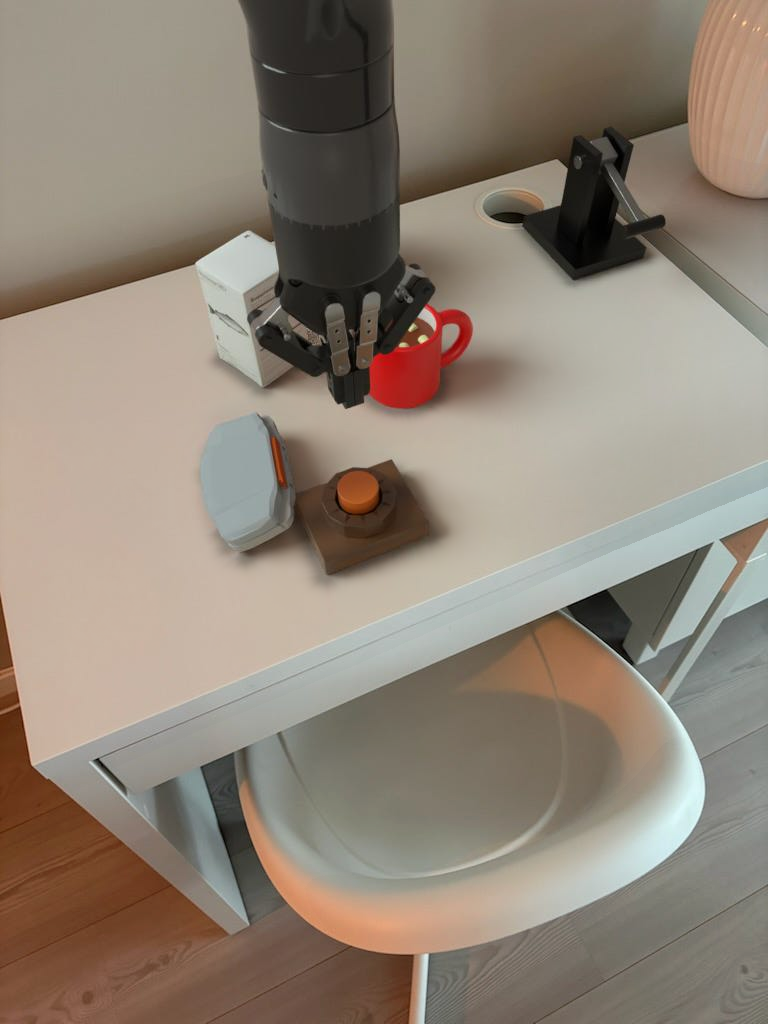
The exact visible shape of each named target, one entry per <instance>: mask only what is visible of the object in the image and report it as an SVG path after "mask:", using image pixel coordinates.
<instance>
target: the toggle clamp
mask: <svg viewBox="0 0 768 1024" xmlns="http://www.w3.org/2000/svg"><path fill="white" fill-rule="evenodd" d="M603 137H607V138H608V139H609V141H610V143H611V144H612V146H613V148H614V149H615V151H616V153H617V154H618V157H617V159H616V161H615V162H614V164H613V165H614V166H615V168H616V170H617V171H618V173H619V175H620V176H621V178H622V180H623V181H624V183H625V181H626V177H627V173H628V171H629V170H628V169H629V166H630V162H631V158H632V154H633V150H634V146H635V145H634V143H632V142H631V141H630V140H629V139H628V138H627V137H625V136H624V135H623V134H621V133H620V132H619V131H618V130H616V129H615V128H614V127H613V126H608V127H604V128H603V132H602V137H601V138H603ZM602 155H603V153H602V152H601V151H599V150H598V149H597V148H596V147H595V146H594V145H592V144H591V143H590V141H589V140H588V139H587V138H586V137H584V135H582V134H578V135H575V136H573V138H572V143H571V149H570V155H569V160H568V165H567V171H566V176H565V180H564V187H563V192H562V197H561V202H560V205H557V206H552V207H550V208H545V209H543V210H539V211H536V212H532V213H529V214H525V215H523V218H522V224H521V227H522V228H523V230H525V231H526V232H527V234H529V236H530V237H531V238H532V239H533V240H534V241H535V242H536V243H537V244H538V245H539V246H540V247H541V248H542V249H543V250H544V251H545V252H546V253H547V254H548V256H549V257H550V258H551V259H552V260H553V261H554V262H555V263H556V264H557V265H558V266H559V267H560V269H561V270H563V271H564V272H565V273H566V275H567V276H568V277H569V278H570V279H571V280H572V281H575V280H578V279H581V278H585V277H588V276H591V275H594V274H597V273H600V272H603V271H606V270H610V269H613V268H615V267H619V266H623V265H625V264H628V263H632V262H635V261H637V260H642V259H644V257H645V254H646V251H647V246H646V245H645V244H644V243H643V242H642V241H641V240H639V238H637V236H635V237H631V238H628V239H625V240H623V239H622V238H621V237H620V234H619V229H620V227H621V226H624V225H623V224H622V223H621V221H619V220H618V219H617V218H616V217H617V213H618V209H619V205H620V202H619V201H618V199H617V197H616V196H615V194H614V192H613V191H612V189H611V187H610V186H609V184H608V182H607V181H606V179H605V177H604V176H603V174H598V173H599V169H600V164H601V160H602Z"/></svg>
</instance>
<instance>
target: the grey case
mask: <svg viewBox="0 0 768 1024" xmlns="http://www.w3.org/2000/svg"><path fill="white" fill-rule="evenodd" d="M199 470H200V471H199V476H200V486H201V492H202V498H203V503H204V506H205V509H206V512H207V514H208V516H209V517H210V520H212V521H213V522H214V523H215V526H216V527H217V530H218V533H219V536H221V538H222V539H223V540H224V541H225V542H226V543H227V545H228V546H229V548H231V550H234V551H235V552H238V553H239V552H241V553H243V552H246V551H249V550H251V549H254V548H255V547H257V546H259V545H261V544H263V543H265V542H267V541H269V540H271V539H273V538H274V537H276V536H278V535H280V534H281V533H284V532H286V531H287V530H289V529H290V528H291V526H292V524H293V522H294V521H295V505H294V504H295V498H296V495H295V494H296V490H295V485H294V480H293V476H292V471H291V465H290V460H289V454H288V450H287V446H286V442H285V440H284V439H283V437H282V436H281V435H280V433H279V430H278V426H277V425H276V422H275V421H274V420H273V419H272V417H271V416H270V415H268V414H263V415H262V416H261V415H260V414H259V413H258V412H257V411H254V412H251V413H250V414H247V415H244V416H241V417H238V418H234V419H231V420H228V421H225V422H221V423H218V424H216V425H215V426H214V427H213V428H212V429H211V431H210V432H209V434H208V436H207V441H206V445H205V448H204V450H203V452H202V453H201V454H200V463H199Z"/></svg>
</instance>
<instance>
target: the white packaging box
mask: <svg viewBox="0 0 768 1024" xmlns="http://www.w3.org/2000/svg"><path fill="white" fill-rule="evenodd" d="M194 265H195V268H196V272H197V274H198V280H199V284H200V286H201V291H202V294H203V299H204V302H205V306H206V309H207V314H208V316H209V321H210V325H211V330H212V333H213V337H214V341H215V345H216V348H217V352H218V355H219V358H220V359H221V360H223V361H224V362H226V363H227V364H229V365H231V366H232V367H234V368H235V369H237V370H238V371H240V372H241V373H242V374H244V375H245V376H246V377H248V378H249V379H251V381H253V382H255V383H256V384H257V385H258V386H260V387H261V388H262V389H263V388H266V387H267V386H269V385H270V384H272V383H273V382H274V381H275V380H278V379H279V378H280V377H281V376H282V375H284V374H286V373H287V372H288V371H289V370H290V369H293V368H294V366H293V365H291V364H290V363H288V362H286V361H285V360H283V359H281V358H279V357H278V356H276V355H274V354H273V353H271V352H269V351H268V350H266V349H264V348H263V347H261V346H260V345H259V343H258V341H257V339H256V337H255V335H254V333H253V331H252V329H251V327H250V325H249V323H248V321H247V316H248V314H249V313H250V312H251V311H253V310H262V311H263V312H264V311H265V309H266V308H267V307H268V306H269V305H270V304H271V303H272V302H273V301H274V300H275V299H276V296H275V293H274V286H275V283H276V280H277V278H278V274H279V267H278V261H277V255H276V248H275V243H273V242H270V241H269V240H267V239H265V238H263V237H261V236H260V235H258V234H257V233H255V232H253V231H251V230H249V229H248V230H246V231H244V232H242V233H241V234H239V235H237V236H236V237H234V238H232V239H231V240H229V241H227V242H226V243H224V244H223V245H221V246H219V247H218V248H216V249H215V250H213V251H211V252H209V253H208V254H207V255H205V256H203V257H202V258H201V257H200V259H198V260H197V261H196V262H195V263H194ZM288 321H289V323H290V325H291V326H292V330H293V331H294V332H296V333H297V334H299V335H300V336H302V337H303V338H305V339H307V340H308V341H310V340H309V333H308V328H307V327H306V326H304V325H303V324H301V323H300V322H299V321H297V320H296V319H295V318H293V317H292V316H291V315H289V316H288Z"/></svg>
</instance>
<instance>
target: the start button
mask: <svg viewBox="0 0 768 1024" xmlns="http://www.w3.org/2000/svg"><path fill="white" fill-rule="evenodd" d="M337 491H338V499H339V504H340V506H341V507H342V508H343V509H344V510H345V511H346V512H348V513H350V514H354V515H363V514H366V513H369V512H371V511H372V510H373V509H374V508H375V507H376V506H377V504H378V502H379V484H378V481H377V480H376V478H375V477H374V476H373V475H371V474H370V473H367V472H364V471H353V472H350V473H348V474H346V475H344V476H343V477H342V478H341V479H340V481H339V483H338V486H337Z"/></svg>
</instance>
